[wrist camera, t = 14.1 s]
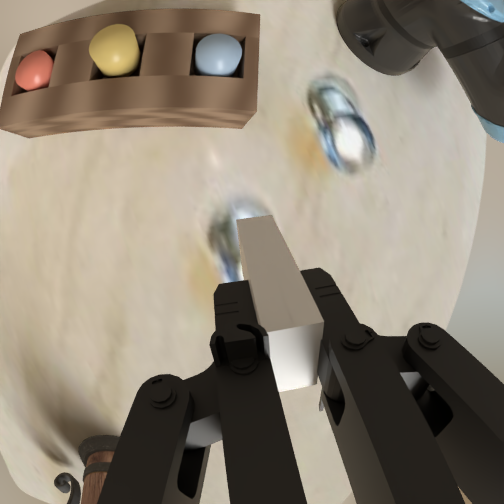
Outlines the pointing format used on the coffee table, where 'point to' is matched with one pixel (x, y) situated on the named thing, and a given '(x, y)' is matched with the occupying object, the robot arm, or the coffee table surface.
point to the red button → (35, 71)
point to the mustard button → (115, 51)
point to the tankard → (90, 469)
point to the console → (135, 76)
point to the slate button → (217, 56)
